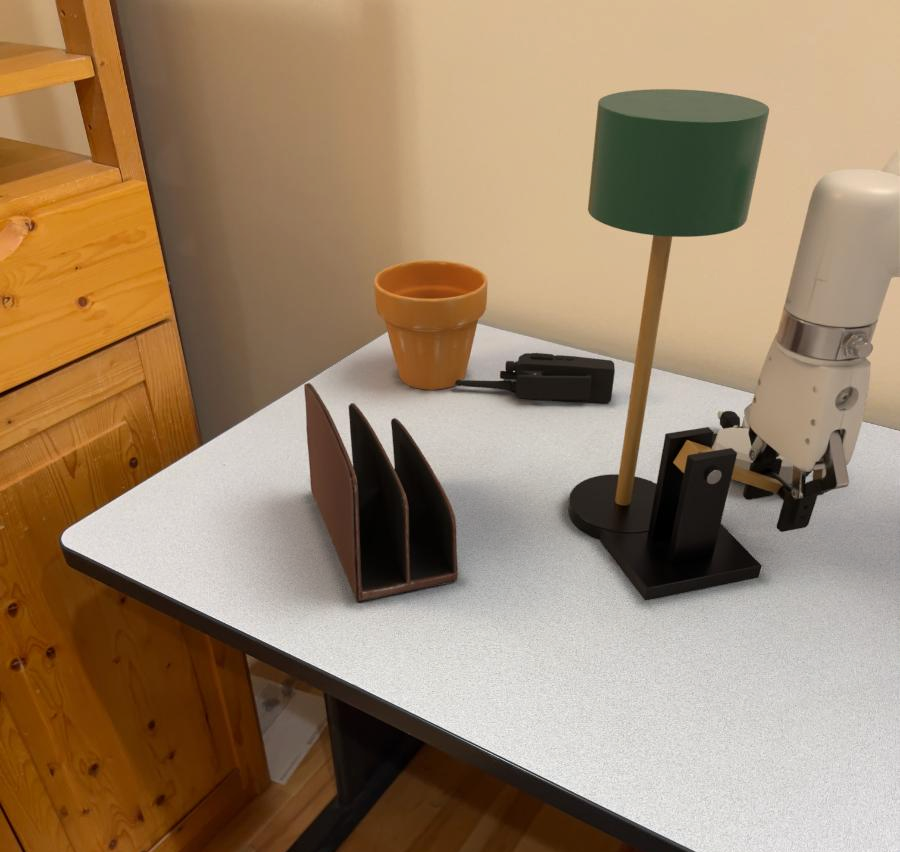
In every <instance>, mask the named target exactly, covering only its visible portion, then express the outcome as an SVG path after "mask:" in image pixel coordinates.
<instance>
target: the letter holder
mask: <svg viewBox="0 0 900 852" xmlns="http://www.w3.org/2000/svg"><path fill="white" fill-rule="evenodd" d="M303 389H304V400H305V419H306V422H305V423H306V424H305V425H306V427H305V428H306V443H307V452H308V467H309V479H310V481H309V482H310V491H311V494H312V497H313V499H314V502H315V504H316V506H317V509H318V510H319V513H320V515H321V518H322V520H323V523H324V526H325V528H326V530H327V533H328V535H329V539H330V540H331V543H332V546H333V547H334V550H335V553H336V554H337V557H338V560H339V562H340V564H341V567H342V569H343V572H344V574H345V577H346V580H347V581H348V584H349V586H350V588H351V589H350V590H351V592H352V594H353V597H354V600H355V601H356V603H358V604H360V603H363V602H366V601H369V600H374V599H379V598H383V597H388V596H393V595H397V594H403V593H408V592H413V591H417V590H422V589H427V588H431V587H437V586H441V585H446V584H451V583H455V582H457V581H458V575H459V572H458V568H459V567H458V551H457V550H458V543H457V542H458V541H457V522H456V515H455V512H454V510H453V506H452V504H451V502H450V499H449V497H448V495H447V493H446V491H445V489H444V488H443V486H442V484H441V482H440V480H439V479H438V477H437V475H436V473H435V472H434V470H433V468H432V466H431V464H430V463H429V462H428V460H427V457H425V455H424V454H423V451H421V449H420V447H419V446H418V444H417V443H416V440H414V438H413V436H412V435H411V434H410V432H409V431H408V429H407V428H406V427H405V426H404V425H403V423H402V422H401V421H400V420H399V419H398V418H397V417H393V418H392V419H391V420H390V426H391V436H392V437H391V438H392V451H393V464H394V465H393V464H392V461H391V460H390V457H389V455H388V454H387V452H386V450H385V448H384V446H383V444H382V442H381V441H380V439H379V437H378V435H377V433H376V431H375V430H374V428H373V426H372V425H371V424H370V422H369V421H368V419H367V417H366V416H365V414H364V413H363V411H362V410H361V409H360V408H359V407H358V406H357V404H356V403H354V402H351V403H350V404H349V405H348V418H349V433H350V447H351V458H350V456H349V452H348V451H347V448H346V446H345V443H344V441H343V438H342V437H341V434H340V432H339V430H338V428H337V425H336V424H335V422H334V419H333V417H332V416H331V413H330V411H329V409H328V407H327V406H326V404H325V402H324V400H323V399H322V397H321V396H320V394H319V393H318V391H317V389H316V388H315V387H314V385H313V384H312V383H310V382H307V383H304V388H303ZM351 459H352V461H351Z"/></svg>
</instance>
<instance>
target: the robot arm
mask: <svg viewBox="0 0 900 852" xmlns="http://www.w3.org/2000/svg"><path fill="white" fill-rule="evenodd" d="M894 278H900V144H899V145H898V147H896V149H895V151H894V152H893V153H892V155H891V156H890V158H889V159H888V161H887V163H886V164H885V165H884V166H883V168H882V170H877V169H867V168H846V169H838V170H834V171H832V172H829V173H826V174H825V175H823V176H822V177H821V178H820V179H819V180H818V181H817V182H816V184H815V186H814V187H813V190H812V192H811V196H810V199H809V202H808V207H807V210H806V214H805V218H804V223H803V228H802V231H801V234H800V239H799V244H798V247H797V251H796V255H795V260H794V264H793V267H792V272H791V277H790V281H789V286H788V288H787V292H786V296H785V301H784V305H783V308H782V312H781V315H780V319H779V324H778V328H777V332H776V333H775V336H774V338H773V340H772V341H771V344H770V347H769V348H768V352H767V354H766V356H765V358H764V361H763V364H762V367H761V370H760V373H759V376H758V380H757V383H756V386H755V390H754V393H753V397H752V401H751V403H750V404H749V405H748V406H746V407H744V410H743V415H744V416H745V418H746V422H747V425H748V428H750V429H749V433H748V434H749V438H750V442H751V446H752V447H751V449H750V451H749V458H750V460H751V461H753V463H751V465H750V469H749V471H752V472H755V473H758V474H762V472H763V471H764V470H766V469H772V470H773V471H774V472H775V473H777V474H778V475H779V472H780V469H781V464H782V460H781V459H780V458H777V459H776V457H779V455H781V456H783V457H784V458H785V459H786V460H788V461H789V462H790V463H791V464H793V476H792V484H791V486H792V490H791V493H788V494H786V495H785V497H784V501H783V500H782V505H781V508H780V512H779V514H778V518H777V522H776V529H777V530H778V531H779V532H780V533H784V532H790V531H794V530H795V531H796V530H801V529H805V528H807V527H808V526H809V524H810V521H811V518H812V514H813V511H814V508H815V505H816V503H817V499H818V496H823V495H824V494H826V493H828V492H831V491H834V490H838V489H843V488H847V487H848V486H849V484H850V479H849V472H848V467H847V466H848V465H849V464H850V462H851V460H852V457H853V455H854V452H855V449H856V445H857V442H858V438H859V435H860V432H861V428H862V424H863V419H864V414H865V411H866V405H867V401H868V394H869V389H870V379H871V369H872V368H871V366H872V364H871V361H870V360H868V357H869V356H870V355H871V354H872V352H873V350H874V345H873V344H872V341H873V337H874V334H875V331H876V328H877V324H878V321H879V318H880V315H881V312H882V308H883V305H884V303H885V302H884V301H885V299H886V296H887V293H888V289H889V287H890V283H891V280H892V279H894ZM810 471H812V480H810V481H807V480H806V478H807V477H806V472H810ZM806 481H807V482H806ZM744 484H745V483H744ZM774 494H775V493H774V492H771V491H767V490H764V489H761V488H758V487H755V486H752V485H749V484H745V485H744V488H743V493H742V497H743V498H744V499H745V500H747V501H751V500H757V499H762V498H768V497H772V496H773V495H774Z"/></svg>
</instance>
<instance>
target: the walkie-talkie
mask: <svg viewBox="0 0 900 852" xmlns="http://www.w3.org/2000/svg"><path fill="white" fill-rule="evenodd" d="M615 368H616V367H615V363H614V361H613V360H611V359H602V358H594V357H585V356H584V357H583V356H576V355H562V354H557V355H555V354H552V353H543V352H542V353H541V352H531V353H530V352H526V353H523V354H520V356H519V357H518V360H516V361H513V360H506V361H505V369H504V370H500V372H499V379H501V380H473V379H472V380H471V379H466V380H465V379H463V380H456V382H455V386H456V387H469V388H481V389H483V388H484V389H493V390H501V391H513V392H515V393H514V395H515V397H516V398H517V399H521V400H537V401H553V402H554V401H555V402H575V403H576V402H577V403H579V402H580V403H610V402H612V397H613V388H614V380H615V373H616V370H615ZM512 380H513V381H512Z"/></svg>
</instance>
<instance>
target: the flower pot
mask: <svg viewBox="0 0 900 852" xmlns="http://www.w3.org/2000/svg"><path fill="white" fill-rule="evenodd" d="M373 288H374V300H375V301H374V302H375V309H376V313H377V314H378V316H379V317H380V318H381V319H382V320H383V321H384V324H385V328H386V332H387V335H388V340H389V343H390V347H391V350H392V354H393V358H394V362H395V365H396V369H397V373H398V376H399V378H400V380H401V381H402V382H403V383H404V384H405V385H407V386H409V387H412V388H415V389H419V390H429V391H430V390H432V391H434V390H436V391H437V390H440V389H449V388H452V387H454V386H456V385H455V382H456V380H462V381H463V380H465V377H466V374H467V370H468V366H469V362H470V357H471V353H472V349H473V344H474V340H475V336H476V331H477V327H478V322H479V319H480V318H481V317H483V316H484V314H485V312H486V310H487V302H488V277H487V276H486V274H485V273H484V272H483V271H481V270H480V269H478V268H476V267H474V266H471V265H468V264H466V263H465V264H464V263H461V262H457V261H456V262H455V261H449V260H433V259H431V260H429V259H428V260H427V259H425V260H412V261H407V262H401V263H398V264H393V265H391V266H388V267H387V268H384V269H382V270H381V271H379V272H378V273H377V274H376V276H375V277H374V280H373Z"/></svg>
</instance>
